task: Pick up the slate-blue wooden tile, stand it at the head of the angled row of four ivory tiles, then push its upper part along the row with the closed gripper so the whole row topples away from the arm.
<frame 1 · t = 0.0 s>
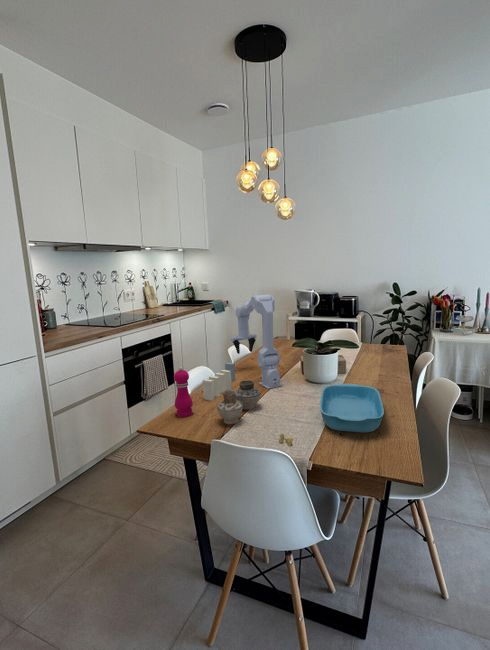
hand: (244, 352, 196), 10 cm above the table, tool pointing down, fingers open, 7 cm apart
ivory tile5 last: (209, 399, 157), on the table
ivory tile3: (221, 392, 165), on the table
pepper mill: (184, 414, 143), on the table
slate tile: (230, 380, 181), on the table
olive bow shape: (285, 443, 118), on the table
casserole dish: (350, 416, 135), on the table
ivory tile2: (226, 388, 169), on the table
pottery: (240, 413, 141), on the table
ivory tile4: (215, 395, 161), on the table
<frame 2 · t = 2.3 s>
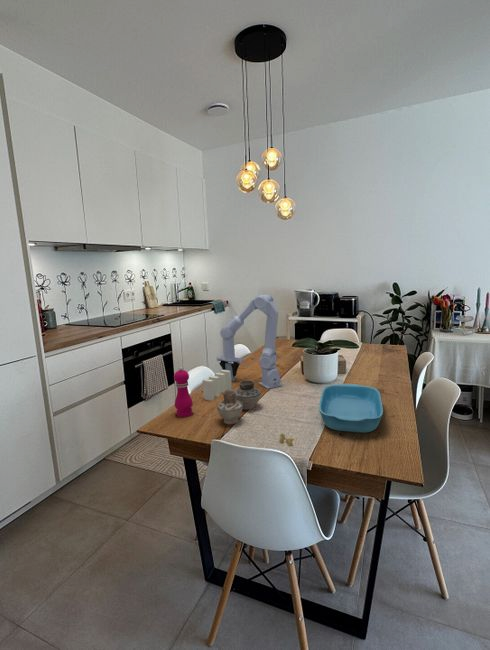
hand: (230, 375, 181), 3 cm above the table, tool pointing down, fingers closed on slate tile, 5 cm apart
slate tile: (230, 380, 181), on the table, touching gripper
everything else where it was.
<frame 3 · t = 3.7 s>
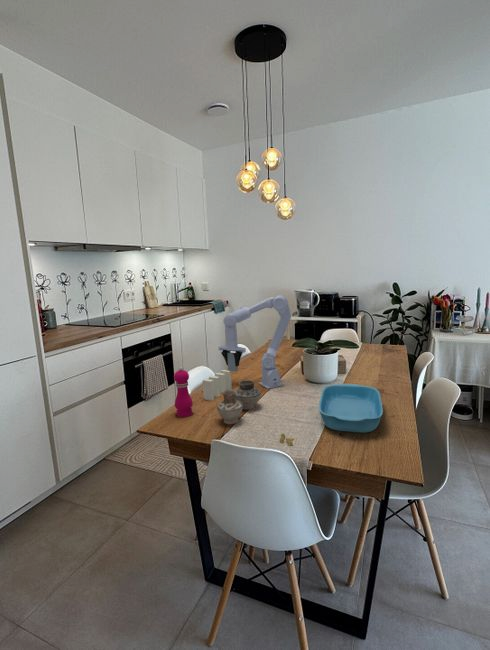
hand: (232, 365, 173), 10 cm above the table, tool pointing down, fingers closed on slate tile, 5 cm apart
slate tile: (233, 370, 174), point 7 cm above the table, touching gripper
everything else where it was.
when the fingers open (3 cm above the table, at t = 5.3 s): slate tile stays where it is, on the table.
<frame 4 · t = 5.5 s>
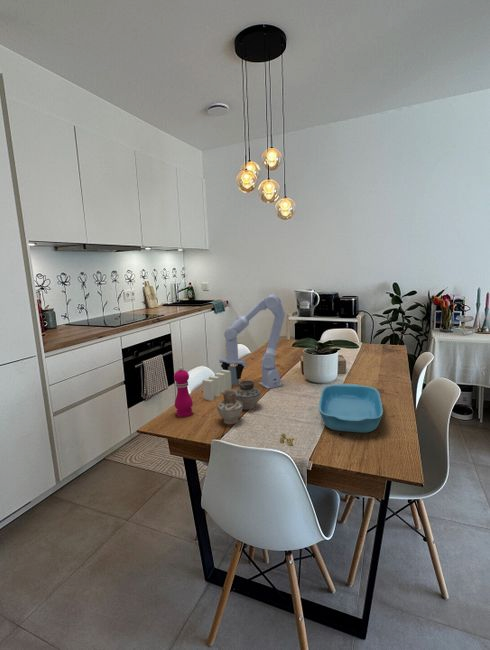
hand: (233, 378, 174), 3 cm above the table, tool pointing down, fingers open, 6 cm apart
slate tile: (233, 384, 175), on the table
everything else where it was.
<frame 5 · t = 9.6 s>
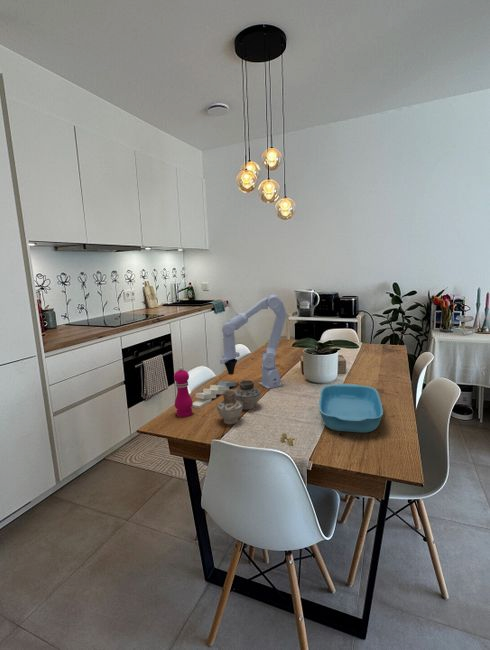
hand: (231, 374, 172), 6 cm above the table, tool pointing down, fingers closed
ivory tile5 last: (207, 399, 156), on the table, tilted 90°, touching ivory tile4
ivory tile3: (218, 391, 164), point 1 cm above the table, tilted 69°, touching ivory tile4
slate tile: (232, 383, 173), point 1 cm above the table, tilted 73°, touching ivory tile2
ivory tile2: (225, 388, 168), point 1 cm above the table, tilted 70°, touching slate tile
ivory tile4: (211, 395, 159), point 1 cm above the table, tilted 71°, touching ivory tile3, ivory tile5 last
everything else where it was.
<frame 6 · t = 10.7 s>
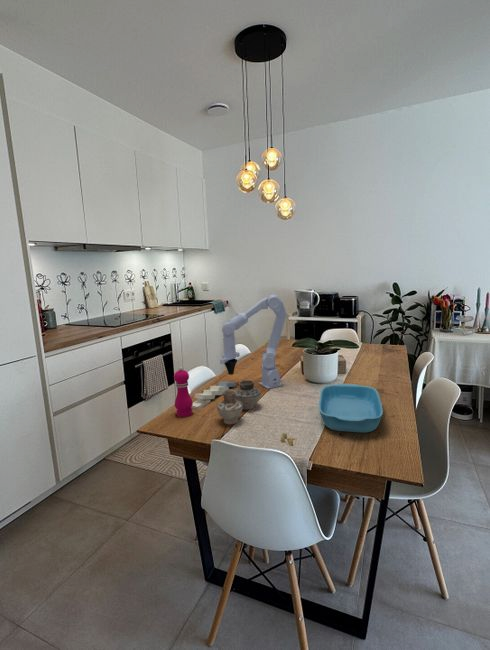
hand: (231, 374, 172), 6 cm above the table, tool pointing down, fingers closed
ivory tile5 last: (206, 400, 156), on the table, tilted 90°
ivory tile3: (218, 392, 163), point 1 cm above the table, tilted 70°, touching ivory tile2, ivory tile4
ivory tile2: (224, 388, 167), point 1 cm above the table, tilted 70°, touching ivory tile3, slate tile
ivory tile4: (210, 396, 158), point 1 cm above the table, tilted 69°, touching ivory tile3
everything else where it was.
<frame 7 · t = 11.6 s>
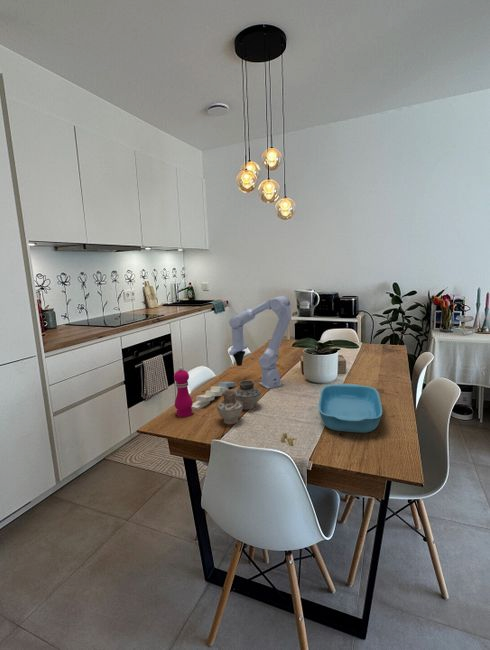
hand: (239, 365, 179), 8 cm above the table, tool pointing down, fingers closed
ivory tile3: (217, 392, 162), point 1 cm above the table, tilted 70°
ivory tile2: (223, 388, 167), point 1 cm above the table, tilted 71°, touching slate tile
ivory tile4: (209, 397, 156), point 1 cm above the table, tilted 73°
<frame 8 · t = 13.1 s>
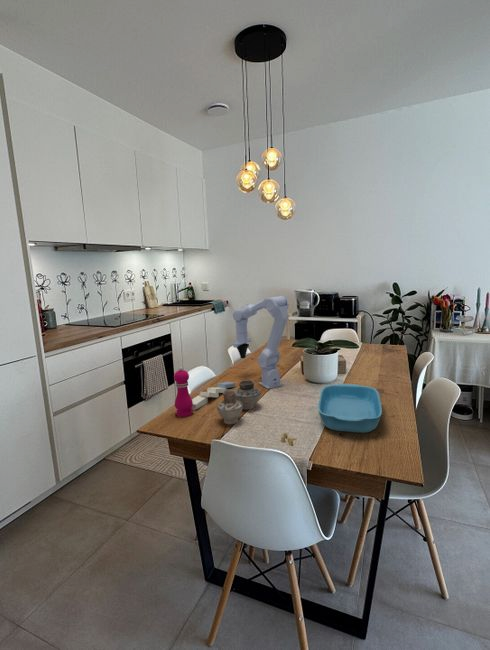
hand: (243, 357, 183), 10 cm above the table, tool pointing down, fingers closed
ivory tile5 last: (203, 401, 154), on the table, tilted 90°, touching ivory tile4
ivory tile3: (214, 394, 160), point 1 cm above the table, tilted 68°, touching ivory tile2, ivory tile4
slate tile: (231, 384, 173), point 1 cm above the table, tilted 77°
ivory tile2: (222, 389, 166), point 1 cm above the table, tilted 72°, touching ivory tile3
ivory tile4: (202, 397, 154), point 2 cm above the table, tilted 90°, touching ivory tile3, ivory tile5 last
everything else where it was.
at the end: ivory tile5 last tilted 90°; slate tile tilted 77°; slate tile inside the target area (0.7 cm from its centre), point 0.9 cm above the table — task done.
